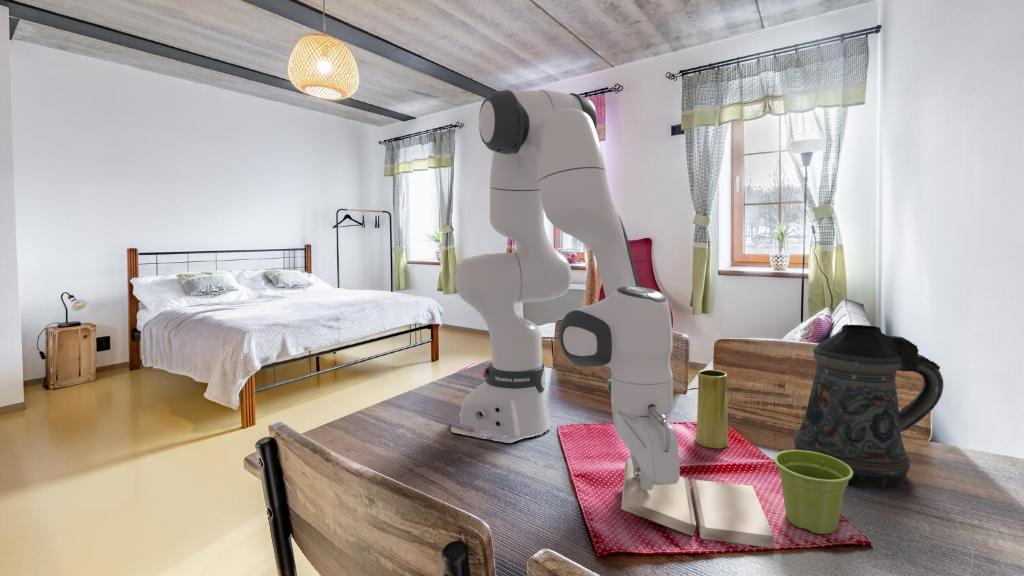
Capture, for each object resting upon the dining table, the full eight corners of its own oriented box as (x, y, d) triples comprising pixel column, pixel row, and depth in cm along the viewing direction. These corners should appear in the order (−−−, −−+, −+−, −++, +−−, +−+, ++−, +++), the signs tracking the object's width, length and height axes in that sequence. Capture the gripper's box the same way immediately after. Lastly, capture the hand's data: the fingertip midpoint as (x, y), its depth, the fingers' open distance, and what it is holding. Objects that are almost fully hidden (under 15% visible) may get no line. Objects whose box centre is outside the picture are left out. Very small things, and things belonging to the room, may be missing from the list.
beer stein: (773, 449, 90) (776, 321, 87) (867, 441, 92) (872, 316, 89) (842, 495, 73) (848, 338, 71) (954, 485, 75) (963, 332, 73)
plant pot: (759, 506, 71) (760, 451, 70) (817, 501, 72) (819, 447, 71) (802, 545, 62) (803, 483, 61) (868, 539, 63) (871, 477, 62)
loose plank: (621, 508, 67) (624, 498, 66) (625, 466, 79) (627, 457, 79) (692, 536, 64) (696, 525, 64) (685, 487, 77) (688, 478, 76)
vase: (732, 450, 90) (733, 377, 89) (698, 448, 91) (699, 377, 90) (724, 436, 96) (725, 369, 95) (692, 435, 97) (693, 368, 96)
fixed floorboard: (700, 538, 64) (700, 525, 64) (691, 489, 76) (691, 478, 76) (773, 548, 62) (773, 535, 61) (752, 495, 74) (752, 485, 74)
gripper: (692, 419, 60) (692, 521, 61) (641, 376, 80) (642, 453, 81) (643, 421, 60) (645, 524, 61) (604, 377, 80) (606, 455, 81)
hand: (643, 483), depth 71 cm, fingers closed
